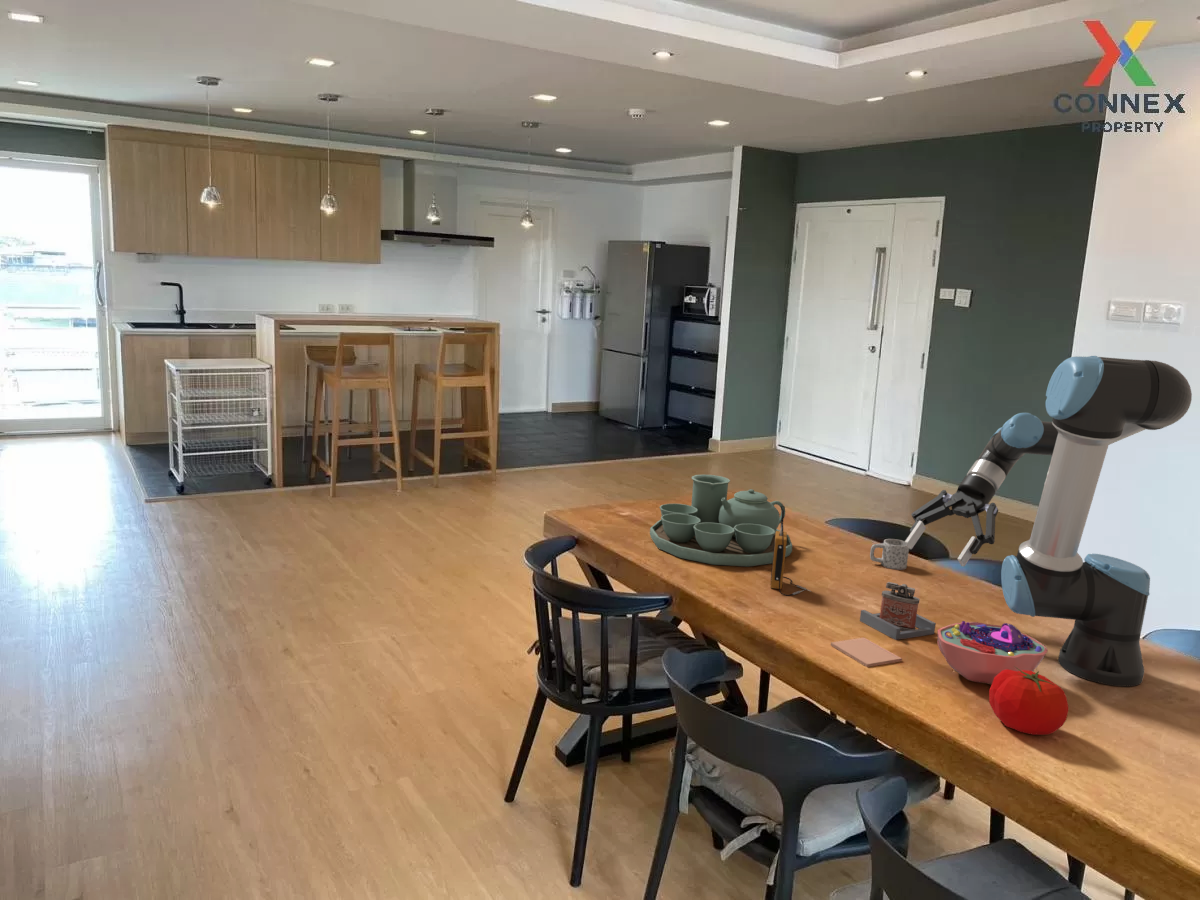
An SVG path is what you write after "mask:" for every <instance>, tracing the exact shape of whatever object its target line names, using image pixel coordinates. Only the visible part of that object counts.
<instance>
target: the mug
mask: <svg viewBox="0 0 1200 900" xmlns="http://www.w3.org/2000/svg"><path fill="white" fill-rule="evenodd" d="M905 541H906V540H902V539H895V538H886V539H884V540H883V542H882V543H875V544H872V546H871V547H870V553H869V557H870V560H871V561H873V562H875V563H880V564H881V566H882V567H884V568H886V569H889V570H890V569H891V570H898V571H899V570H900V571H901V570H902V571H903V570H906V569H907V567H908V566H907V565H908V559H909V551H910V549H909V548H908V546H907V545H906V543H905ZM877 548H879V549H882V555H881V557H875V550H876V549H877Z"/></svg>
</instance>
